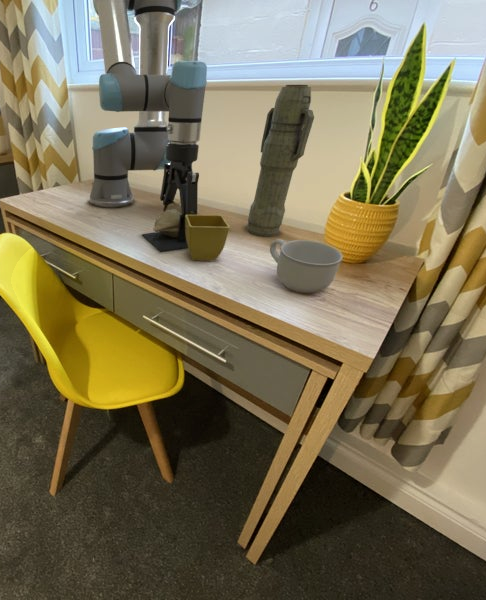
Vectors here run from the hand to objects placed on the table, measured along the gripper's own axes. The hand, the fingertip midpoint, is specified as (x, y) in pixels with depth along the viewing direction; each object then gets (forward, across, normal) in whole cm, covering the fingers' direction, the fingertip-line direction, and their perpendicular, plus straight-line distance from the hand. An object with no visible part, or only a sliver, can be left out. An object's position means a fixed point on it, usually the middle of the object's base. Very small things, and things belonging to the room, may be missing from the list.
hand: (174, 234), depth 89 cm
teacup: (+1, +31, +12) cm, 33 cm away
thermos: (+1, +4, +26) cm, 26 cm away
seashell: (0, 0, 0) cm, 0 cm away
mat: (+1, +2, 0) cm, 2 cm away
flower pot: (+1, +14, 0) cm, 14 cm away
